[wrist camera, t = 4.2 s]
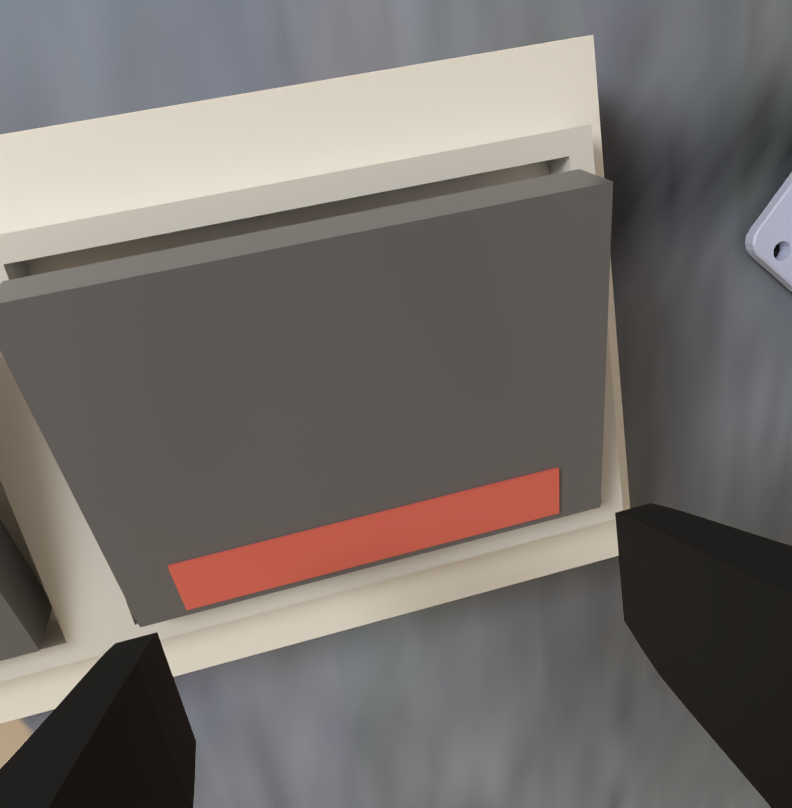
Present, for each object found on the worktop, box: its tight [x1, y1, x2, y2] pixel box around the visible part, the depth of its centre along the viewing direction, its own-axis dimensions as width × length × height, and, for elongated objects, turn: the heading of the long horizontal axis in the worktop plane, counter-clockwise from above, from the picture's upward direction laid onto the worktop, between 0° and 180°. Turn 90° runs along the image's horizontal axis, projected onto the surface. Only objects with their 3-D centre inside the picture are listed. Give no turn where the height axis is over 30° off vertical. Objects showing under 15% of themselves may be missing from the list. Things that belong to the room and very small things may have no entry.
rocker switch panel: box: [0, 35, 630, 724], centre depth 14 cm, size 25×12×4 cm, turn 101°
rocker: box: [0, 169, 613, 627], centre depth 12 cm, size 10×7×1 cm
